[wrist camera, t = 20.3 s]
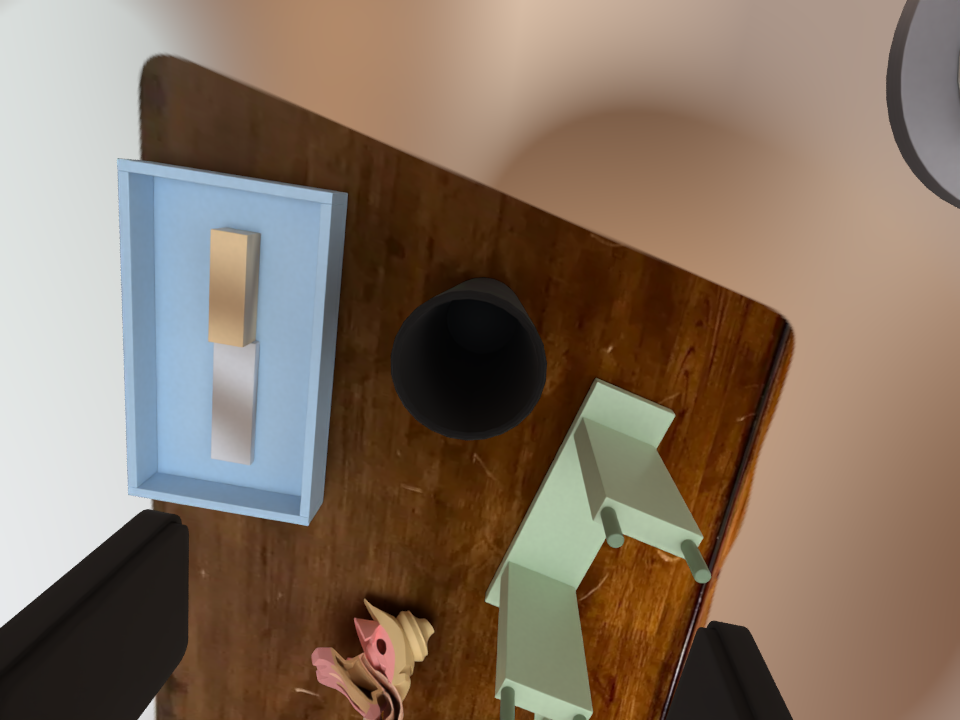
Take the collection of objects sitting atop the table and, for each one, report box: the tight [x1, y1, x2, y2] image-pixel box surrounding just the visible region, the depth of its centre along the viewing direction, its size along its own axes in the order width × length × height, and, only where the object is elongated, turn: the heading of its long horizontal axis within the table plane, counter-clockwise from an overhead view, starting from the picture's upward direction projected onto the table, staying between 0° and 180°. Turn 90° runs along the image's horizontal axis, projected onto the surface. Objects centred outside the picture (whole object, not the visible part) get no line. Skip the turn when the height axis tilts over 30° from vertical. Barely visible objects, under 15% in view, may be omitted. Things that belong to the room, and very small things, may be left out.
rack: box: [485, 378, 711, 720], centre depth 36 cm, size 20×6×14 cm, turn 157°
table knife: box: [208, 227, 261, 465], centre depth 39 cm, size 17×3×2 cm, turn 171°
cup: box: [391, 278, 547, 440], centre depth 33 cm, size 8×8×12 cm
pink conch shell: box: [312, 598, 434, 720], centre depth 45 cm, size 9×10×10 cm
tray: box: [117, 158, 348, 526], centre depth 39 cm, size 23×13×3 cm, turn 171°
